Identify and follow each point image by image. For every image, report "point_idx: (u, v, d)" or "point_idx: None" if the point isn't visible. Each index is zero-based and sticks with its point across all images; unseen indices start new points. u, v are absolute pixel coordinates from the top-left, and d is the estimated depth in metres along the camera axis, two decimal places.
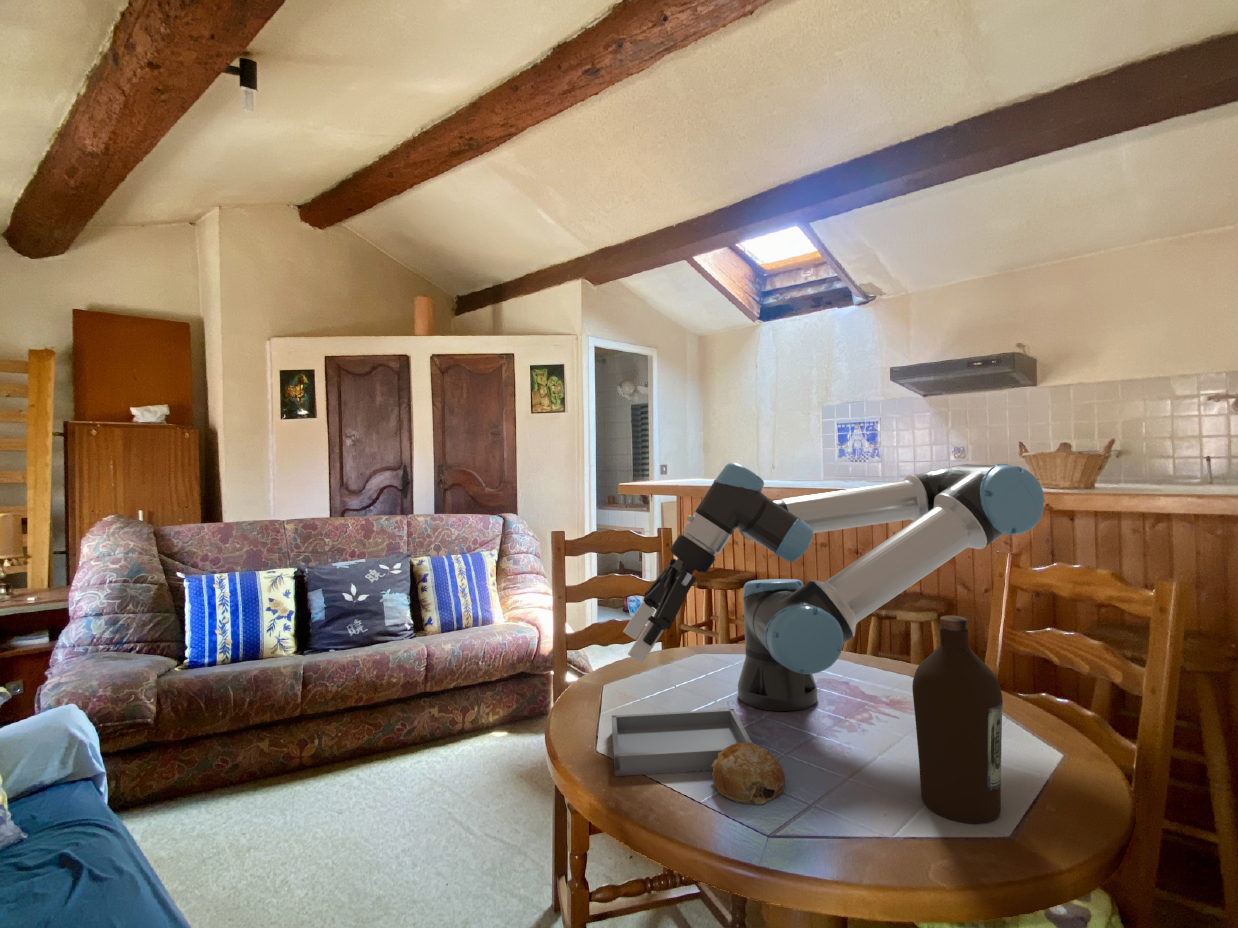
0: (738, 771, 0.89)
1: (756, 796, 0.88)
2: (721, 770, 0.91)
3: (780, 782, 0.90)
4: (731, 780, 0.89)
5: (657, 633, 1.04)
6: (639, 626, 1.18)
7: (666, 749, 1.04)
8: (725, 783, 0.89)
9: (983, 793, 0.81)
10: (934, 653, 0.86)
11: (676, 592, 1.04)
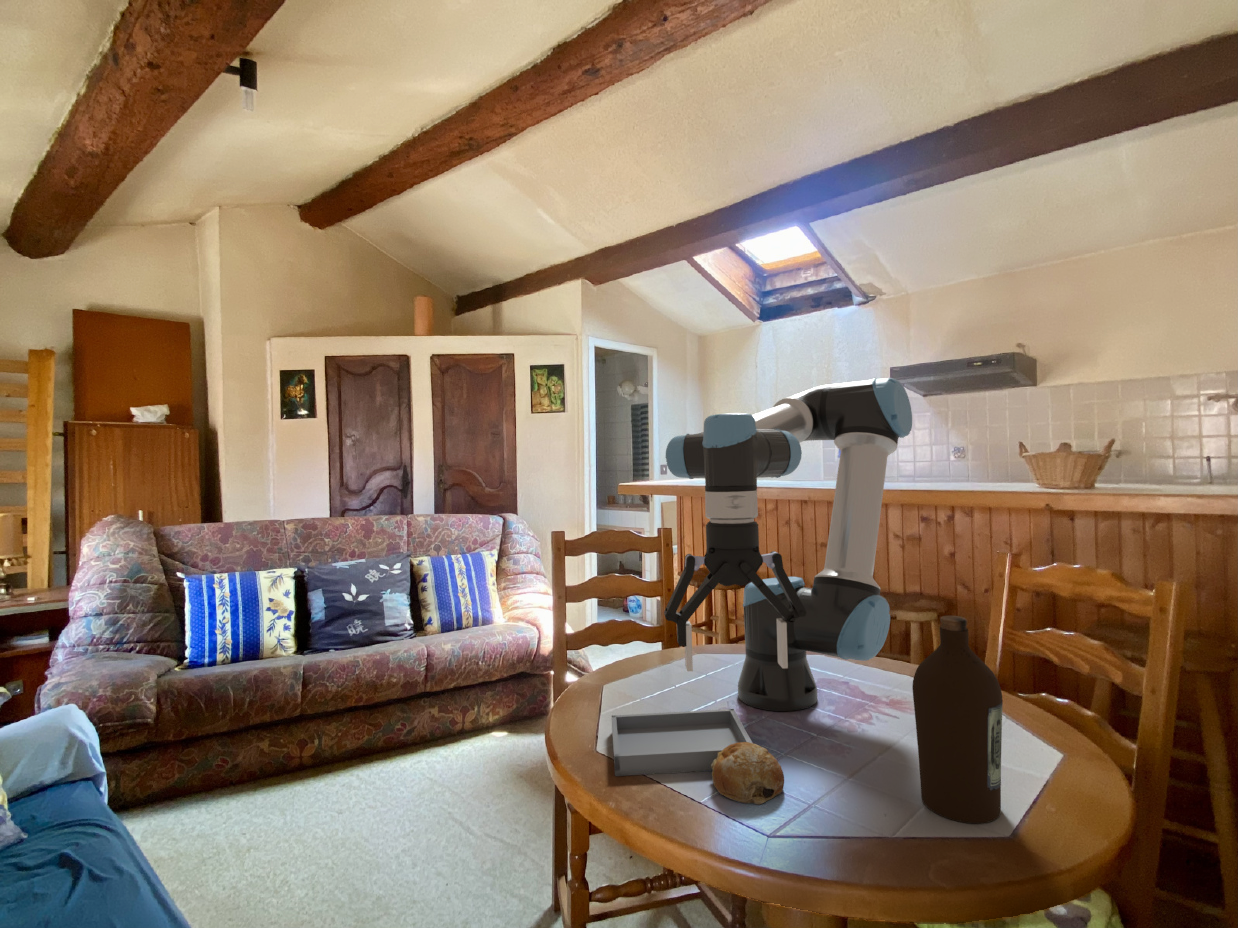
0: (737, 771, 0.89)
1: (755, 796, 0.88)
2: (720, 770, 0.91)
3: (779, 781, 0.90)
4: (730, 780, 0.89)
5: None
6: None
7: (666, 749, 1.04)
8: (724, 783, 0.90)
9: (983, 793, 0.81)
10: (934, 653, 0.86)
11: None
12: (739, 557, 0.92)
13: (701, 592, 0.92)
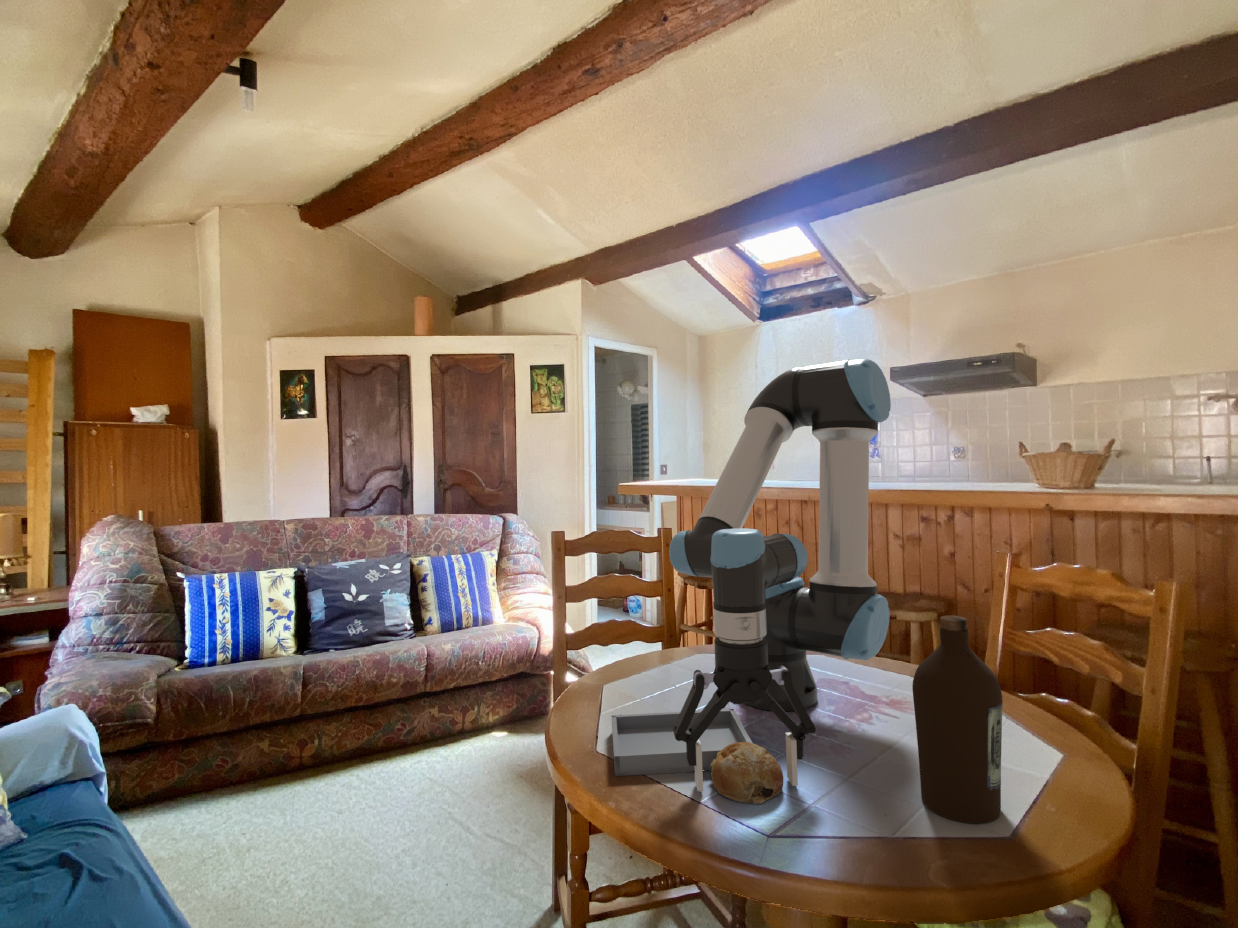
0: (736, 770, 0.89)
1: (755, 795, 0.89)
2: (720, 770, 0.91)
3: (779, 781, 0.90)
4: (730, 780, 0.89)
5: None
6: None
7: (666, 749, 1.04)
8: (723, 782, 0.90)
9: (983, 793, 0.81)
10: (934, 653, 0.86)
11: None
12: (748, 675, 0.92)
13: (711, 711, 0.91)
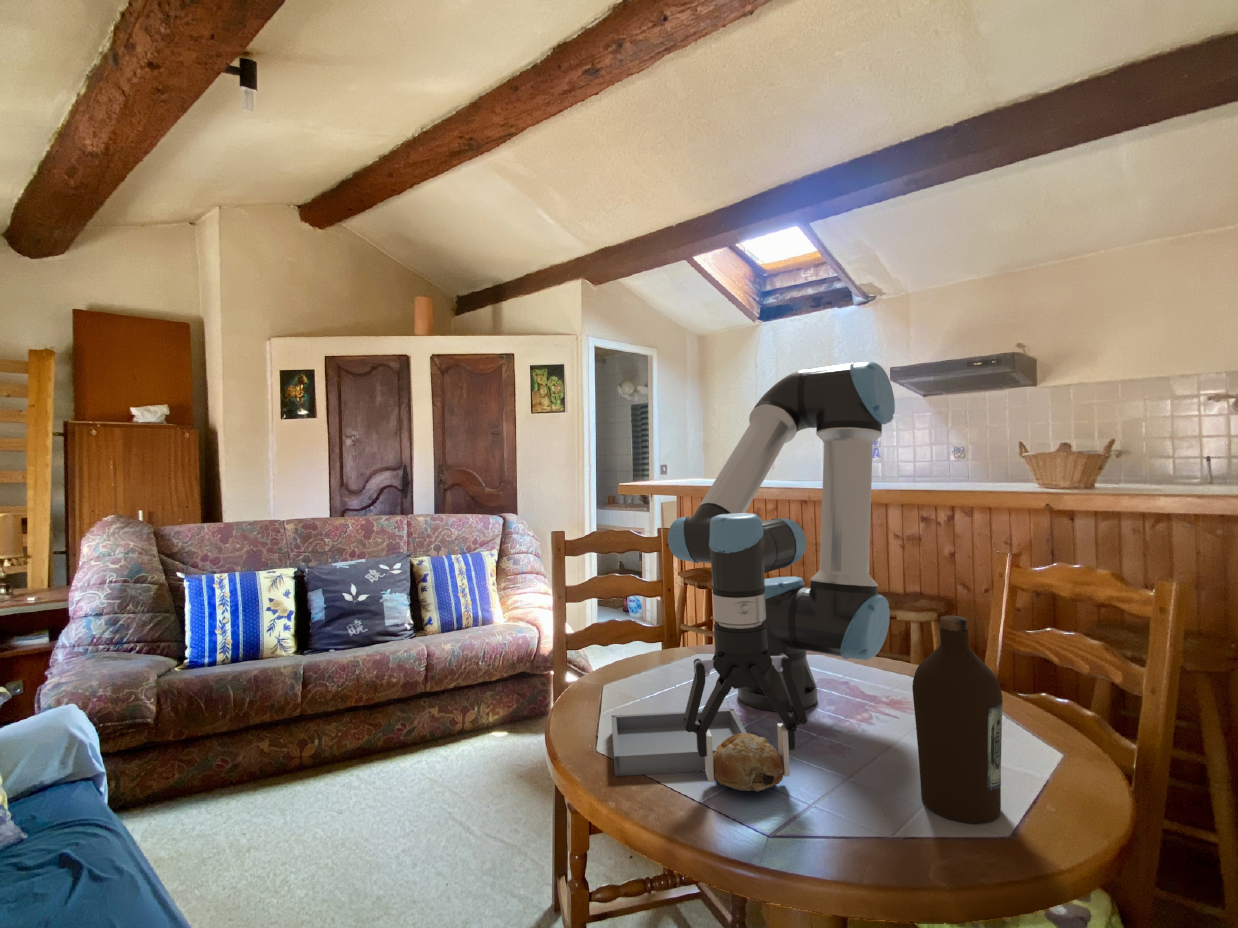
0: (737, 757, 0.90)
1: (756, 782, 0.88)
2: (720, 758, 0.91)
3: (779, 769, 0.90)
4: (730, 766, 0.89)
5: None
6: None
7: (666, 749, 1.04)
8: (724, 770, 0.90)
9: (983, 793, 0.81)
10: (934, 653, 0.86)
11: None
12: (749, 657, 0.92)
13: (716, 700, 0.91)
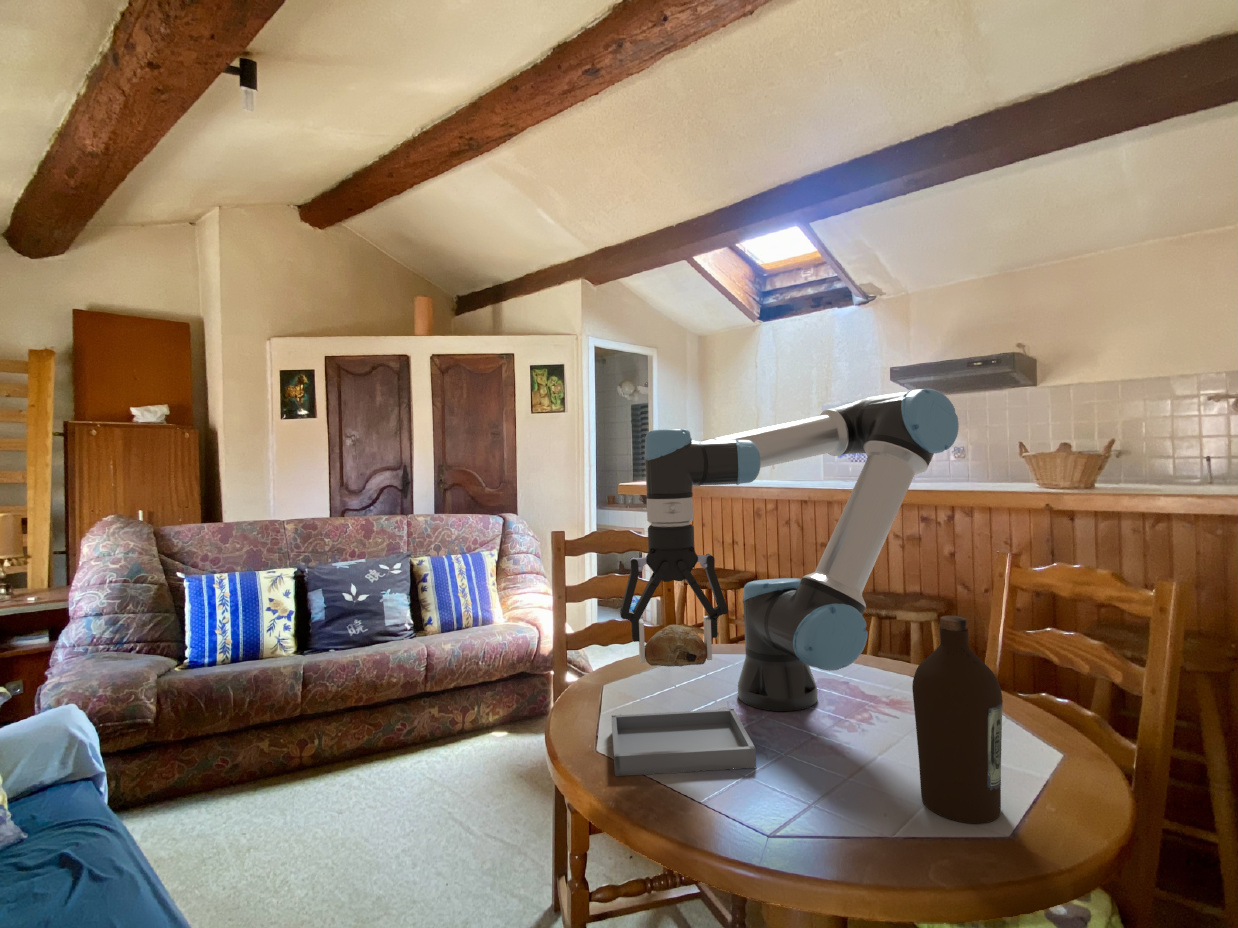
0: (664, 638, 1.02)
1: (680, 659, 1.01)
2: (650, 641, 1.03)
3: (701, 650, 1.02)
4: (658, 645, 1.02)
5: None
6: None
7: (666, 749, 1.04)
8: (653, 650, 1.02)
9: (983, 793, 0.81)
10: (934, 653, 0.86)
11: None
12: (677, 554, 1.04)
13: (647, 591, 1.04)
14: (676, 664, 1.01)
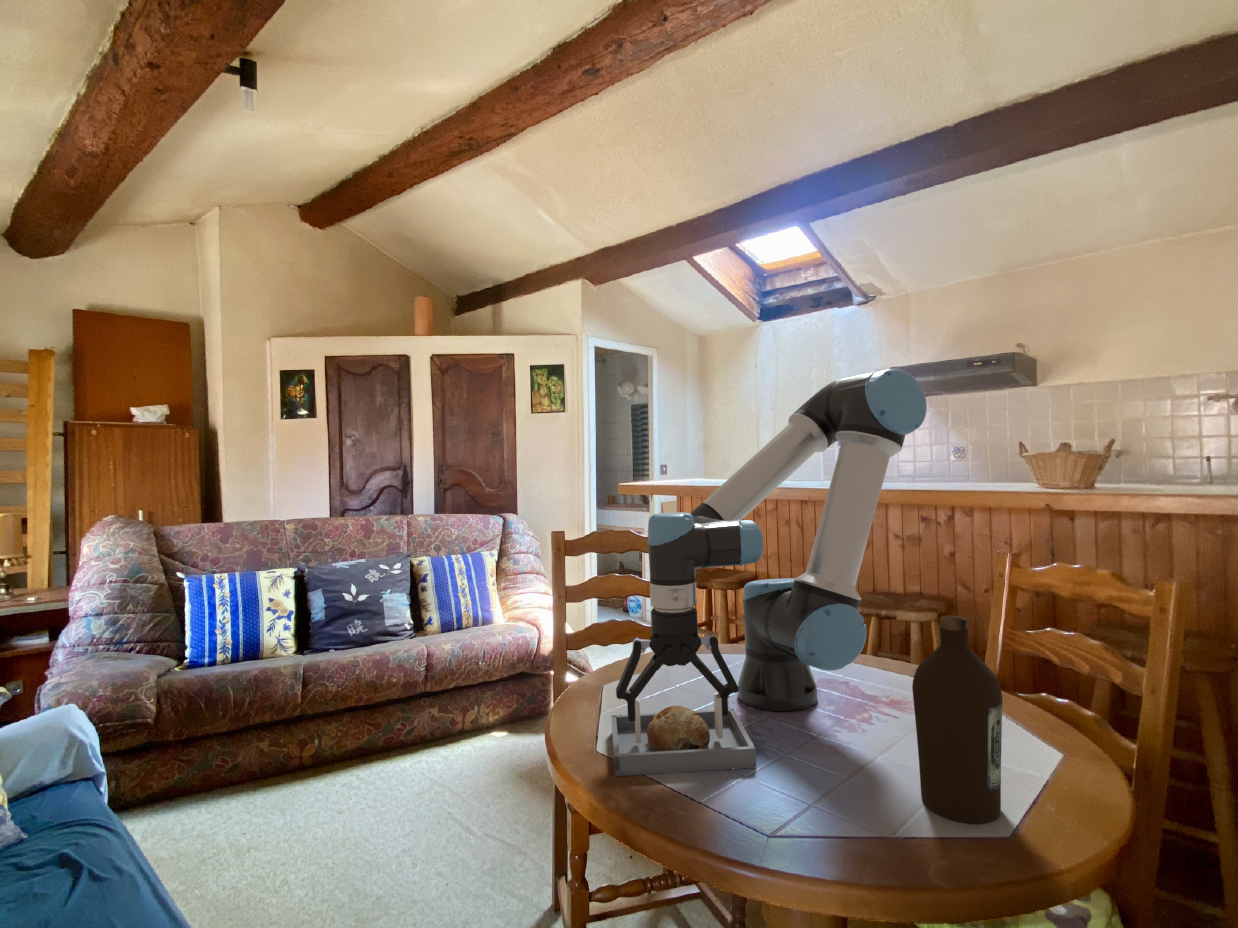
0: (667, 729, 1.01)
1: None
2: (653, 729, 1.03)
3: (704, 739, 1.02)
4: (661, 737, 1.01)
5: None
6: None
7: None
8: (656, 740, 1.02)
9: (983, 793, 0.81)
10: (934, 653, 0.86)
11: None
12: (680, 640, 1.04)
13: (647, 673, 1.04)
14: None
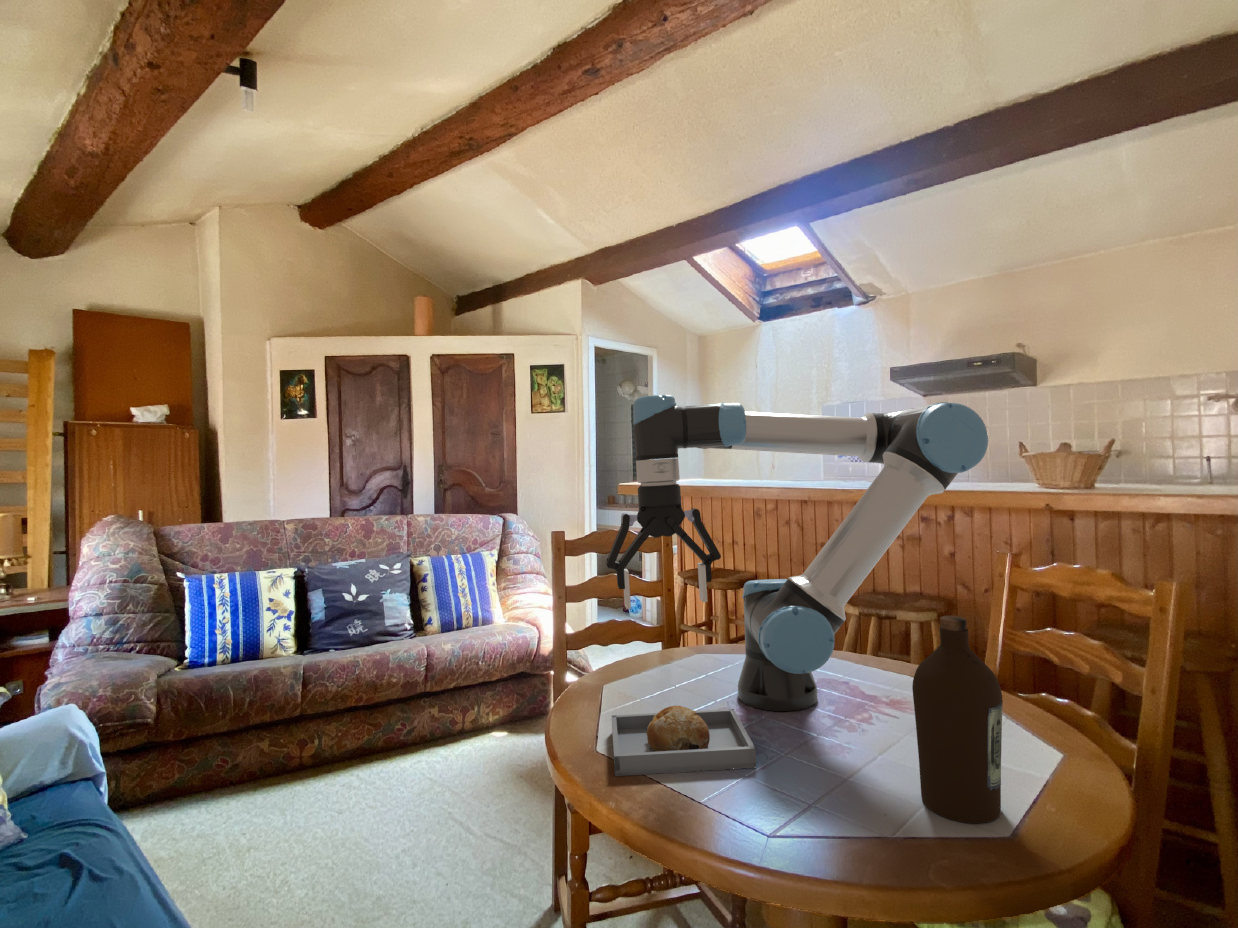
0: (666, 729, 1.01)
1: None
2: (653, 729, 1.03)
3: (704, 739, 1.02)
4: (661, 737, 1.01)
5: None
6: None
7: None
8: (655, 740, 1.02)
9: (983, 793, 0.81)
10: (934, 653, 0.86)
11: (704, 528, 1.14)
12: (665, 513, 1.12)
13: (635, 543, 1.12)
14: None
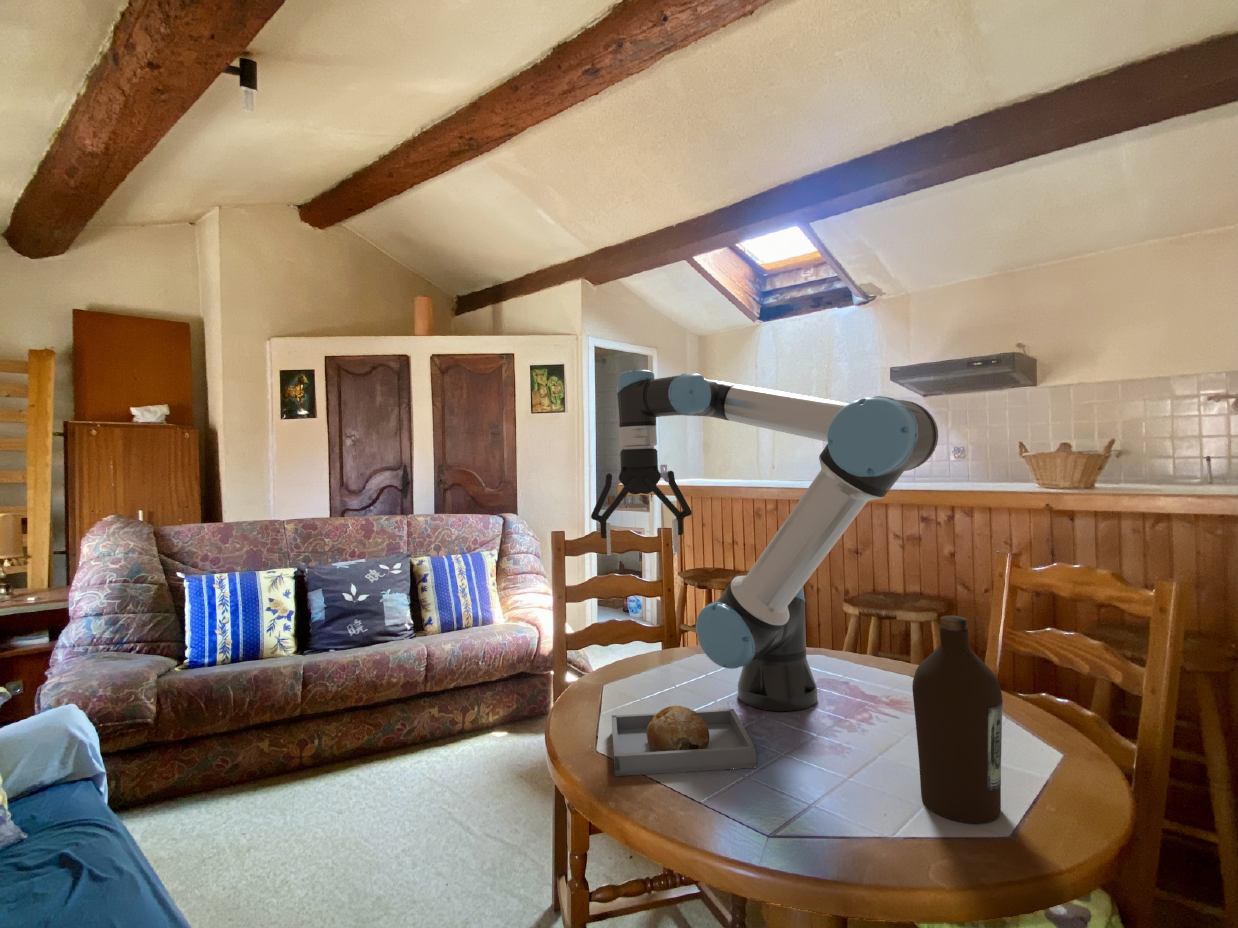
0: (666, 729, 1.01)
1: None
2: (653, 729, 1.03)
3: (704, 738, 1.02)
4: (660, 737, 1.01)
5: None
6: None
7: None
8: (655, 740, 1.02)
9: (983, 793, 0.81)
10: (934, 653, 0.86)
11: None
12: (643, 473, 1.29)
13: (616, 499, 1.29)
14: None
